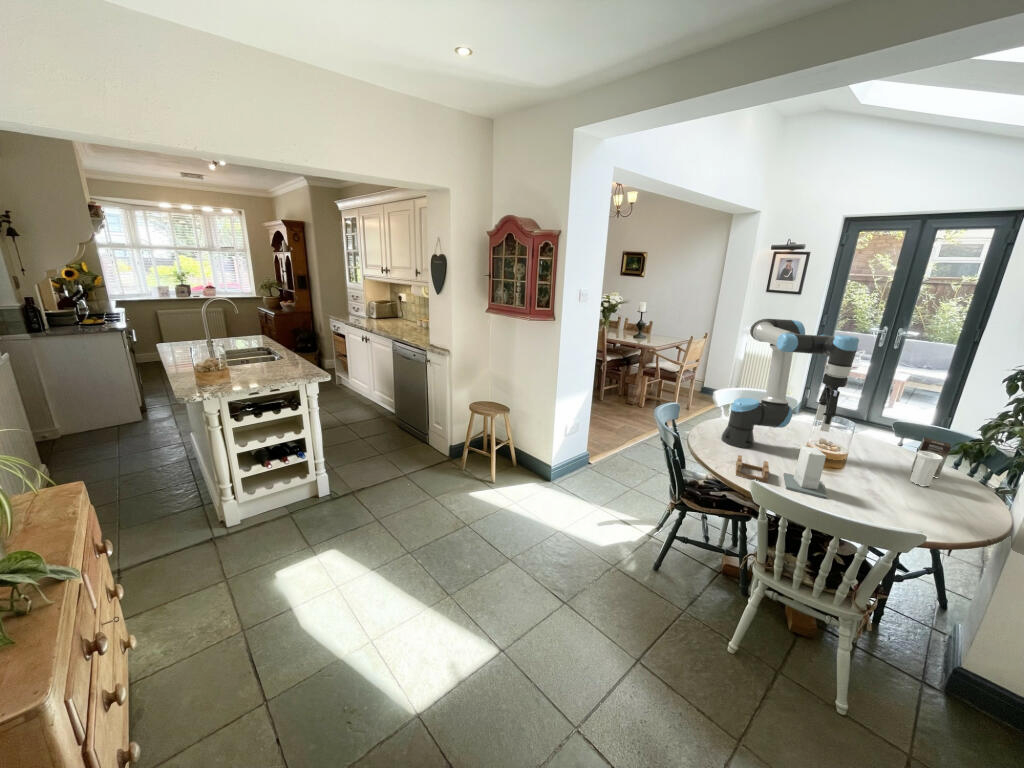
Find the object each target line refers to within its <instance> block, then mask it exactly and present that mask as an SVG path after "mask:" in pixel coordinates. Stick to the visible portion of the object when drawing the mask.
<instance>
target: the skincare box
mask: <svg viewBox="0 0 1024 768" xmlns="http://www.w3.org/2000/svg"><path fill="white" fill-rule="evenodd" d="M826 457H827V455H826V454H824V453H823V452H822V451H821V450H820V449H819V448H818V447H811V446H810V447H809V446H801V447H800V450H799V455H798V459H797V463H796V467H795V472H794V474H793V475H794V479H795V481H796V482H797V483H798V484H799V485H800V486H801V487H803V488H809V489H818V485H819V482H820V481H821V477H822V473H823V471H824V470H823V469H824V467H825V462H826V459H827V458H826Z"/></svg>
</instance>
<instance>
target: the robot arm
mask: <svg viewBox="0 0 1024 768" xmlns="http://www.w3.org/2000/svg"><path fill="white" fill-rule="evenodd" d="M749 332H750V336H751V338H752V339H754V340H755V341H757V342H760V343H761V342H763V343H768V344H769V347H770V348H771V349H772V352H771V359H770V366H769V372H768V379H767V386H766V391H765V396H764V397H762V398H761V400H760V401H759V400H758V399H755V398H751V397H740V398H736V399H735V400H733V402H732V404H731V408H730V409H731V410H730V414H729V418H728V419H729V420H728V422H727V423H728V424H727V426H726V428H725V429H724V431H723V432H722V434H721V441H722V442H724V443H725V444H728V445H729V446H733V447H737V448H742V449H749V448H750V449H751V448H753V447H754V445H755V438H754V437H755V436H754V431H753V430H754V428H755V426H759V427H760V426H761V427H769V428H774V429H775V428H778V429H779V428H785V427H787V426H788V425H789V424H790V422H791V420H792V418H793V408H792V407H791V405H789V401H788V400H787V399H786V397H787V391H788V385H789V380H790V379H789V378H790V372H791V366H792V359H793V355H794V353H798V354H810V355H811V354H812V355H824V356H827V357H828V360H827V364H825V365H824V368H825V371H824V372H825V373H824V374H823V377H822V381H821V382H822V383H823V384H824V388H823V390H822V392H821V394H820V397H819V399H818V402H819V404H818V408H817V409H816V413H815V418H814V419H815V420H817V421H822V422H821V425H820V427H819V431H820V432H821V431H822V432H827V433H829V432H830V428H831V426H832V422H833V418H835V417H836V413H837V407H838V402H839V396H840V394H841V392H840V391H839V388H845V387H846V385H847V382H848V379H849V378H848V377H849V376H850V373H851V370H852V367H853V363H854V360H855V357H856V354H857V351H858V349H859V342H860V339H859V338H858V337H857V336H852V335H846V334H837V335H835V336H834V335H830V334H821V335H820V334H819V335H815V334H814V335H813V334H806V328H805V325H804V324H803V322H801V321H799V320H794V319H779V318H763V319H759V320H757V321H755V322H754V323H753V324H752V325H751V327H750V330H749Z"/></svg>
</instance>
